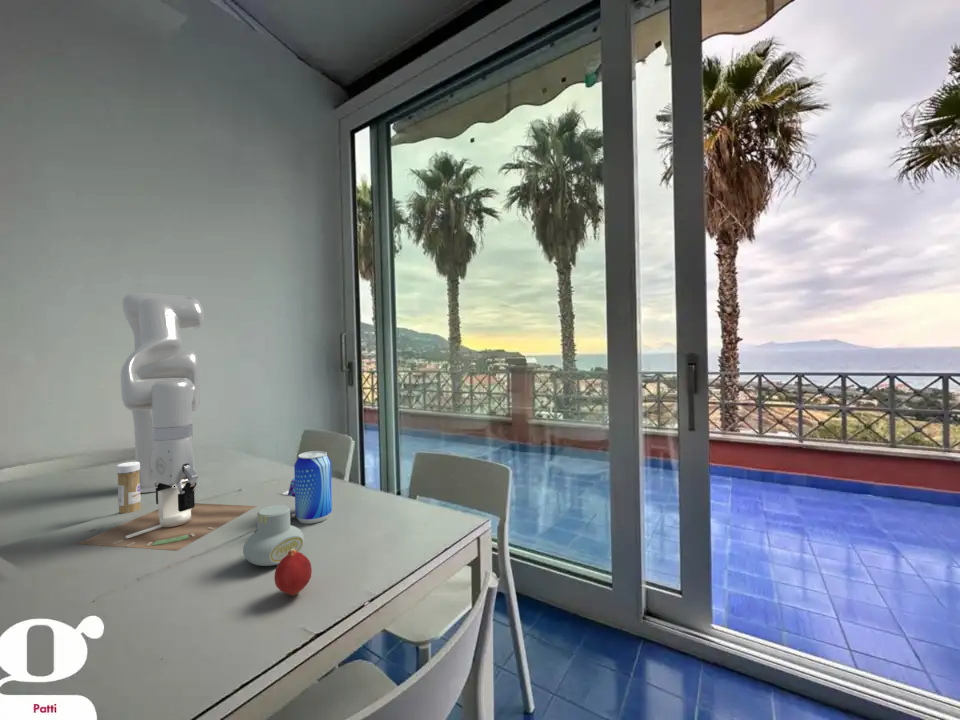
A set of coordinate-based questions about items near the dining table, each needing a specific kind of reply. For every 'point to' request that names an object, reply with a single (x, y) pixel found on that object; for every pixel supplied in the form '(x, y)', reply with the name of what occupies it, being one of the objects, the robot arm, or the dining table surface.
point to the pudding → (291, 489)
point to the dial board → (169, 528)
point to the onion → (293, 573)
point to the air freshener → (272, 537)
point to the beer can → (313, 487)
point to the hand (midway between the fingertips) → (175, 505)
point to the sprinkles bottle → (128, 487)
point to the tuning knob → (168, 511)
